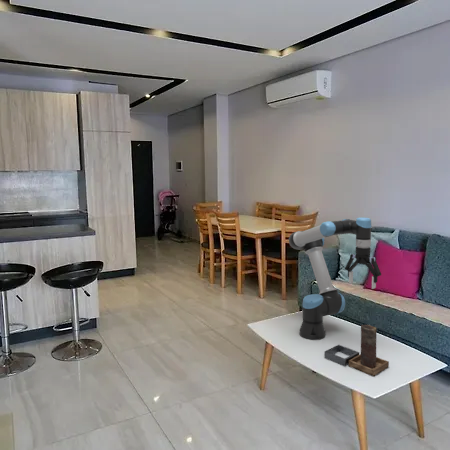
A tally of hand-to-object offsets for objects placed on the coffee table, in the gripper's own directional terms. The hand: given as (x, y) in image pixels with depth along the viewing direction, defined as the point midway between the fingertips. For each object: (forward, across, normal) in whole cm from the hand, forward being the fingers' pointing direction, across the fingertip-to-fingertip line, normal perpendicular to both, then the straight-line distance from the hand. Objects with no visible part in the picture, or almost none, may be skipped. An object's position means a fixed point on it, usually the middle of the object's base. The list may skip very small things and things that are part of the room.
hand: (362, 285), depth 215 cm
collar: (+35, +1, -19) cm, 40 cm away
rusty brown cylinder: (+34, +15, -17) cm, 41 cm away
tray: (+35, +15, -17) cm, 41 cm away
